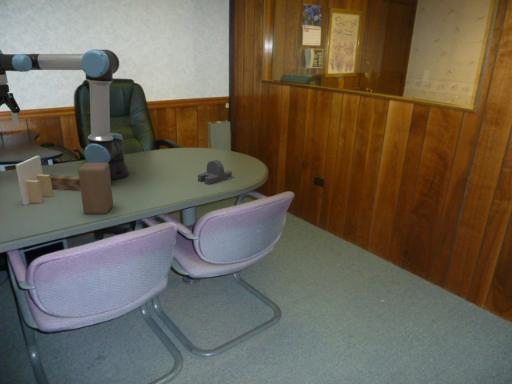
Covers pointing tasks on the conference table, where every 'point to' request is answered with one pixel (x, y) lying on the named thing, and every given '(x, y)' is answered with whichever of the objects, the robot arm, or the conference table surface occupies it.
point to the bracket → (214, 173)
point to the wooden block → (95, 188)
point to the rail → (65, 183)
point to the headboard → (33, 181)
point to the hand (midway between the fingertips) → (7, 128)
